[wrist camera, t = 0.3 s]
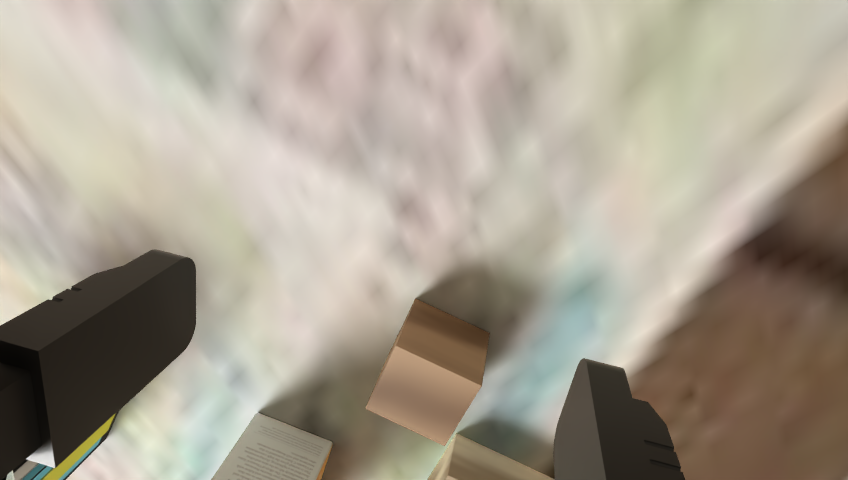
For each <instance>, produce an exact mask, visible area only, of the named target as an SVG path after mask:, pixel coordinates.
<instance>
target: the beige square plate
mask: <svg viewBox="0 0 848 480" xmlns="http://www.w3.org/2000/svg"><path fill="white" fill-rule="evenodd" d="M428 480H555V479H553V478H551V477H549V476H547V475H545V474H542V473H540V472H538V471H536V470H534V469H532V468H530V467H528V466H525V465H523V464H521V463H519V462H517V461H515V460H513V459H510V458H508V457H506V456H504V455H502V454H500V453H498V452H496V451H493V450H491V449H489V448H487V447H485V446H483V445H481V444H478V443H476V442H474V441H472V440H470V439H468V438H466V437H464V436H461V435H459V434H457V433H456V434H455V436H454V438H453V439H452V441H451V443H450V444H449V446H448V447H447V449H446V451H445V452H444V454H443V455H442V457H441V459H440V460H439V462H438V463H437V465H436V467H435V468H434V470H433V471H432V473H431V475H430V476H429V478H428Z"/></svg>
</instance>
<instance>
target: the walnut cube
mask: <svg viewBox="0 0 848 480" xmlns="http://www.w3.org/2000/svg"><path fill="white" fill-rule="evenodd" d="M489 335H490V333H488V332H486V331H484V330H482V329H480V328H478V327H476V326H473V325H471V324H469V323H467V322H465V321H463V320H461V319H458V318H456V317H454V316H452V315H450V314H448V313H446V312H443V311H441V310H439V309H437V308H435V307H433V306H431V305H428V304H426V303H424V302H422V301H420V300H418V299H415V301H414V303H413V305H412V307H411V309H410V311H409V313H408V315H407V317H406V319H405V321H404V324H403V326H402V328H401V330H400V332H399V334H398V336H397V338H396V340H395V342H394V344H393V346H392V349H391V351H390V353H389V355H388V357H387V359H386V362H385V364H384V366H383V368H382V371H381V373H380V375H379V378H378V380H377V382H376V385H375V387H374V389H373V392H372V394H371V396H370V399H369V401H368V403H367V406H366V408H365V409H367V410H369V411H371V412H373V413H376V414H378V415H380V416H382V417H384V418H386V419H388V420H390V421H393V422H395V423H397V424H399V425H401V426H403V427H405V428H407V429H410V430H412V431H414V432H416V433H418V434H420V435H422V436H425V437H427V438H429V439H431V440H433V441H435V442H437V443H439V444H442V445H444V446H445V445H446V443H447V441H448V440H449V438H450V436H451V435H452V433H453V432H454V430H455V428H456V427H457V425H458V423H459V422H460V420H461V419H462V417H463V415H464V414H465V412H466V410H467V409H468V407H469V406H470V404H471V402H472V401H473V399H474V398H475V396H476V394H477V393H478V391H479V389H480V388H481V386H482V380H483V374H484V367H485V361H486V354H487V348H488V341H489Z"/></svg>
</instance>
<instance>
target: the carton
mask: <svg viewBox="0 0 848 480" xmlns="http://www.w3.org/2000/svg"><path fill="white" fill-rule="evenodd" d="M117 413H118V412H117ZM117 413H115V414H114V415H113V416H112V417H111V418H110V419H109V420H108V421H107V422H106V423H104V424H103V425H102V426H101V427H100V428H99V429H98V430H97V431H96V432H95V433H94V434H92V435H91V436H90V437H89V438H88V439H87V440H86V441H85V442H84V443H83V444H81V445H80V446H79V447H78V448H77V449H76V450H75V451H74V452H73V453H72V454H70V455H69V456H68V457H67V458H66V459H65V460H64V461H63V462H62V463H61V464H60V465H58V466H57V467H56V468H53V467H49V466H46V465H43V464H40V463H36V462H33V461H30V460H27V459H25V460H24V461H23V462H22V463H21V464H20V465H18V466H17V467H16V468H15V469H14V470H13V473H14V479H15V480H66V479H67V478H68V477H69V476H70V475H71V474H72V473H73V472H74V471H75V470H76V469H77V468H78V466H79V465H80V464H81V463H82V462H83V461H84V460H85V459H86V458H87V457H88V456H89V455H90V454H91V453H92V452H93V451H94V450H95V449H96V448H97V447H98V446H99V445H100V444H101V443H102V442H103V441H104V440H105V439H106V438H107V435H108V433H109V431H110V429H111V427H112V424H113V422H114V420H115V418H116V416H117Z"/></svg>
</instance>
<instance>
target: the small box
mask: <svg viewBox="0 0 848 480" xmlns="http://www.w3.org/2000/svg"><path fill="white" fill-rule="evenodd" d="M332 446H333V444H332V442H331V441H329V440H326V439H324V438H321V437H319V436H316V435H314V434H311V433H308V432H306V431H303V430H301V429H298V428H296V427H293V426H291V425H288V424H286V423H284V422H281V421H278V420H276V419H273V418H271V417H268V416H265V415H263V414H260V413H257V414H255V416H254V417H253V419H252V420H251V422H250V423H249V425H248V426H247V428H246V429H245V431H244V432H243V434H242V435H241V437H240V438H239V440H238V441H237V443H236V444H235V446H234V447H233V449H232V450H231V452H230V453H229V455H228V456H227V457H226V459H225V460H224V462H223V463H222V465H221V466H220V468H219V469H218V471H217V472H216V473H215V475H214V476H213V478H212V479H211V480H321V478H322V475H323V472H324V469H325V466H326V463H327V460H328V457H329V454H330V451H331V449H332Z"/></svg>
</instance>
